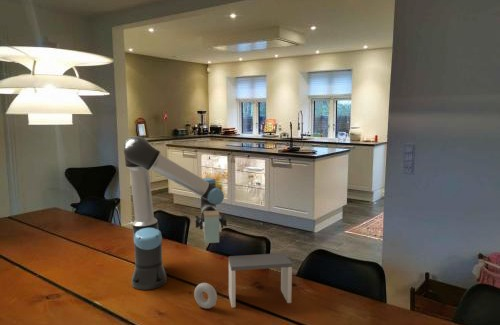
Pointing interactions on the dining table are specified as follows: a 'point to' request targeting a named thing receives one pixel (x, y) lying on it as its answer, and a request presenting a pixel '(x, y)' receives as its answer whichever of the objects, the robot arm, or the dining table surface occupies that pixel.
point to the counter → (283, 284)
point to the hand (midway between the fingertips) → (212, 229)
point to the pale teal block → (211, 226)
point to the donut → (210, 292)
